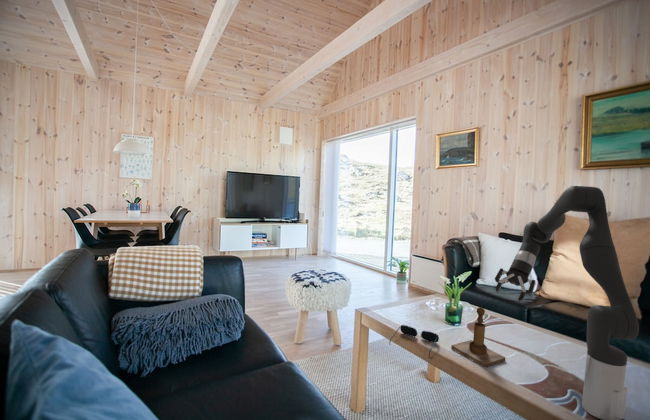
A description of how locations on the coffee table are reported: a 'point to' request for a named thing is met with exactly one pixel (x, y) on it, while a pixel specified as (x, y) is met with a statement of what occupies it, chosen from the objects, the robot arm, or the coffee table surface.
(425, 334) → the sunglasses
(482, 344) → the wooden pepper mill
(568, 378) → the coffee table surface
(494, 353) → the serving board
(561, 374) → the coffee table surface
